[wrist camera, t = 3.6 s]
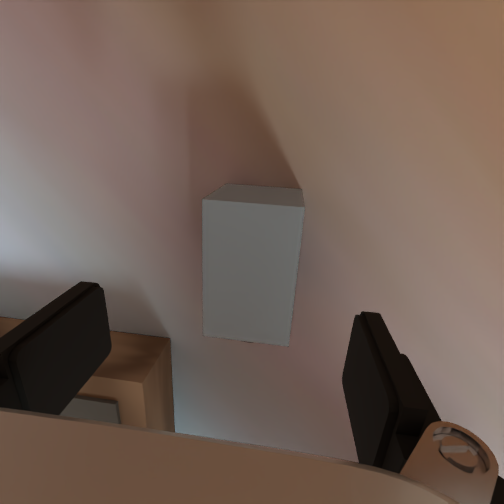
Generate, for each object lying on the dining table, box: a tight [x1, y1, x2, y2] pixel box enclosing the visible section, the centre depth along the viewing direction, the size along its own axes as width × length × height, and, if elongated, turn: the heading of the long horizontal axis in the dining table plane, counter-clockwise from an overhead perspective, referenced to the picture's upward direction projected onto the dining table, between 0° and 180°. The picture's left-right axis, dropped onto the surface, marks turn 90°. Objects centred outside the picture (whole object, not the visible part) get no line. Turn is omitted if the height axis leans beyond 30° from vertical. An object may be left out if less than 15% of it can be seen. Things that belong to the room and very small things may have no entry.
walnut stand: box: [0, 317, 175, 432], centre depth 27 cm, size 18×18×5 cm
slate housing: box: [202, 184, 305, 347], centre depth 19 cm, size 5×9×6 cm, turn 177°
